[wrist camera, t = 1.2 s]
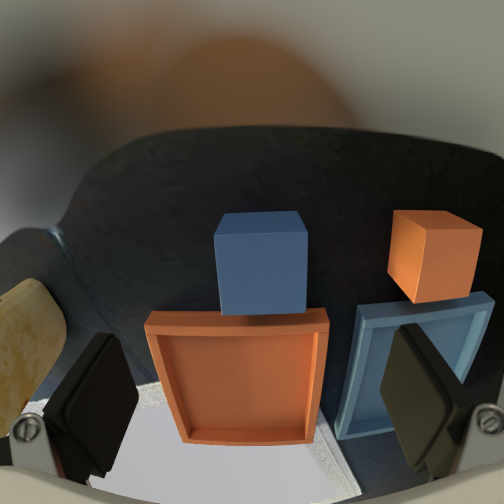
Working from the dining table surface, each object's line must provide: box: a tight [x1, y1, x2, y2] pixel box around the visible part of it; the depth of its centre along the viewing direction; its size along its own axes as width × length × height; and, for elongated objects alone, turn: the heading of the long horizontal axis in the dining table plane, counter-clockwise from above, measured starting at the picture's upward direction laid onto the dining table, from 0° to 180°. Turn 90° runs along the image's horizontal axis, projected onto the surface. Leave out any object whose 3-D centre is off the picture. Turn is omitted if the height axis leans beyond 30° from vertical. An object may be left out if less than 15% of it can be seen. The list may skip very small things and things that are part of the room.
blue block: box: [214, 211, 308, 315], centre depth 17 cm, size 4×4×4 cm
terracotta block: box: [387, 210, 483, 304], centre depth 17 cm, size 4×4×4 cm
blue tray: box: [334, 291, 495, 440], centre depth 22 cm, size 15×13×2 cm
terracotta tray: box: [144, 307, 330, 446], centre depth 23 cm, size 15×13×2 cm
